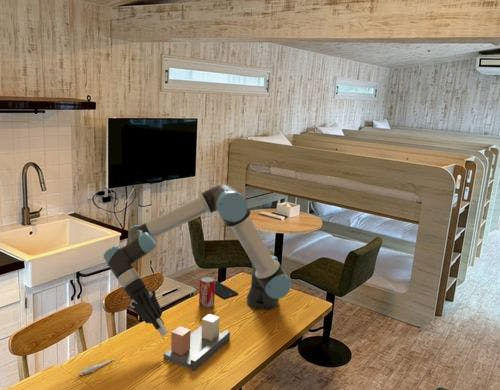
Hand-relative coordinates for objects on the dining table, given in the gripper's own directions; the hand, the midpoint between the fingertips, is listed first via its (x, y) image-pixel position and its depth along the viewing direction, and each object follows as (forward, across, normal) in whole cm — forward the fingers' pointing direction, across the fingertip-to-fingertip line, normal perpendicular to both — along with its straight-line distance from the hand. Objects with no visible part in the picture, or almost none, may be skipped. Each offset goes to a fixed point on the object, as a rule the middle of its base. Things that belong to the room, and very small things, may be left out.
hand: (165, 334), depth 171 cm
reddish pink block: (+8, 0, +2) cm, 8 cm away
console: (+12, -8, +2) cm, 14 cm away
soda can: (-1, -39, -10) cm, 41 cm away
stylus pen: (-4, +21, -14) cm, 26 cm away
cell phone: (-3, -56, -13) cm, 58 cm away
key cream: (+11, -14, +4) cm, 19 cm away
